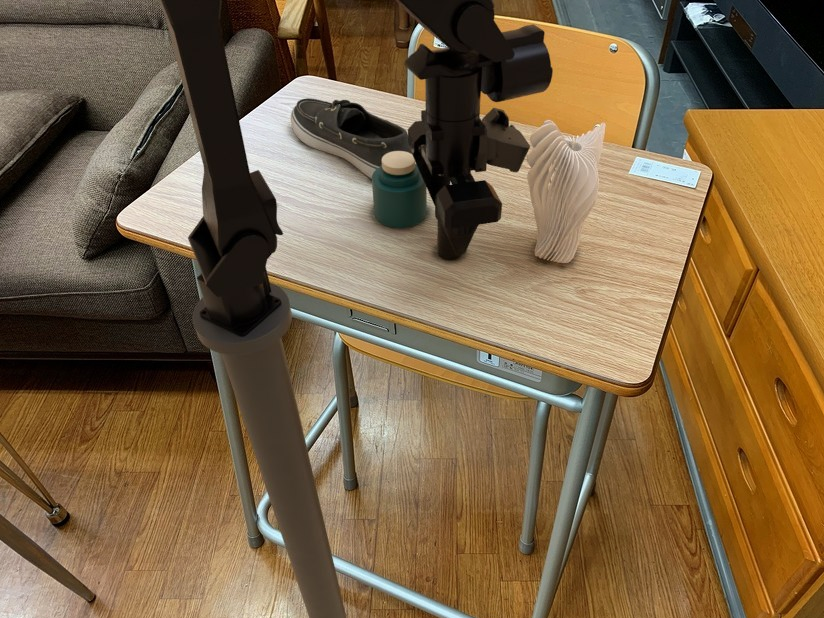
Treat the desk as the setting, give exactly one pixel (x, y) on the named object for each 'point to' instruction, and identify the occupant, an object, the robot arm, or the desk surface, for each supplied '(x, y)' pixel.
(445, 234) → the flashlight
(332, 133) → the boat shoe
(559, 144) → the beige finned vase
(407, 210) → the bottle
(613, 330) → the desk surface
